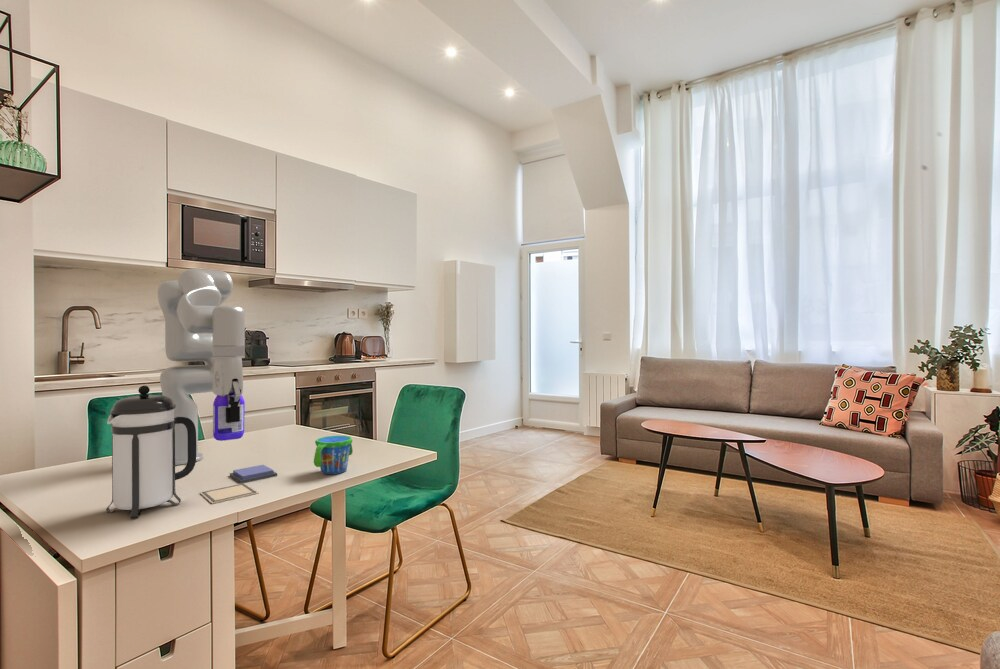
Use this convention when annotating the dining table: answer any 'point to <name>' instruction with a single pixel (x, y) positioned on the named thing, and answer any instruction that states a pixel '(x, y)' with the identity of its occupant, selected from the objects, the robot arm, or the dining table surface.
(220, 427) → the bottle
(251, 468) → the ink pad
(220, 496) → the marked card
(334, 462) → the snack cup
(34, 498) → the dining table surface
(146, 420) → the coffee press
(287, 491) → the dining table surface
